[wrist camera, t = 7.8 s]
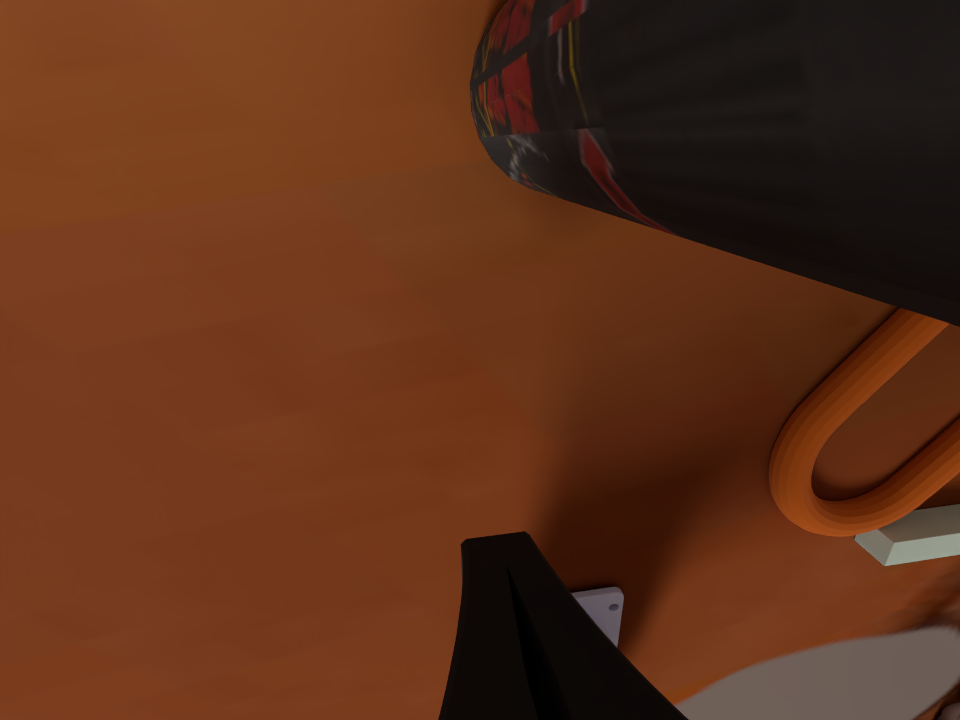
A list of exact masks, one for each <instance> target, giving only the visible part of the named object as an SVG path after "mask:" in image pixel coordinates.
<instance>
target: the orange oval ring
mask: <svg viewBox="0 0 960 720" xmlns="http://www.w3.org/2000/svg"><path fill="white" fill-rule="evenodd" d="M949 324H950V323H947V322H944V321H940V320H937V319H934V318H931V317H928V316H925V315H922V314H919V313H916V312H912V311H909V310H906V309H903V308H899V309H898V310H897V311H896V312H895V313H894V314H893V315H892V316H891V317H890V318H889V319H888V320H887V321H885V322H884V323H883V324H882V325H881V326H880V327H879V328H878V329H877V330H876V331H875V332H874V333H873V334H872V335H871V336H870V337H869V338H868V339H867V340H865V341H864V342H863V343H862V344H861V345H860V346H859V347H858V348H857V349H856V350H855V351H854V352H853V353H852V354H851V355H850V356H849V357H848V358H847V359H846V360H845V361H844V362H843V363H842V364H841V365H839V366H838V367H837V368H836V369H835V370H834V371H833V372H832V373H831V374H830V375H829V376H828V377H827V378H826V379H825V380H824V381H823V382H822V383H821V384H820V385H819V386H818V387H817V388H816V389H815V390H814V391H813V392H812V393H811V394H810V395H809V396H808V397H807V398H806V399H805V400H804V401H803V402H802V403H801V404H800V405H799V406H798V407H797V408H796V410H795V411H794V412H793V413H792V415H791V416H790V417H789V419H788V420H787V422H786V423H785V425H784V426H783V428H782V430H781V432H780V433H779V435H778V437H777V440H776V442H775V444H774V447H773V450H772V453H771V457H770V462H769V486H770V491H771V494H772V497H773V499H774V501H775V503H776V505H777V506H778V508H779V509H780V510H781V512H782V513H783V514H784V516H786V517H787V518H788V519H789V520H790V521H791V522H793V523H794V524H796V525H798V526H799V527H801V528H802V529H805V530H807V531H809V532H812V533H816V534H821V535H827V536H839V537H841V536H852V535H858V534H862V533H866V532H870V531H873V530H876V529H878V528H881V527H883V526H886V525H888V524H890V523H892V522H894V521H896V520H898V519H900V518H902V517H903V516H905V515H907V514H908V513H910V512H911V511H913V510H914V509H916V508H917V507H918V506H919V505H921V504H922V503H923V502H924V501H926V500H927V499H928V498H929V497H931V496H932V495H933V494H934V493H936V492H937V491H938V490H939V489H940V488H941V487H943V486H944V485H945V484H946V483H947V482H949V481H950V480H951V479H952V478H953V477H955V476H956V475H957V474H958V473H959V472H960V418H958V419H957V420H956V421H955V422H954V423H953V424H952V425H950V426H949V427H948V428H947V429H946V430H945V431H944V432H943V433H941V434H940V435H939V436H938V437H937V438H936V439H934V440H933V441H932V442H931V443H930V444H929V445H928V446H926V447H925V448H924V449H923V450H922V451H921V452H919V453H918V454H917V455H916V456H915V457H914V458H913V459H911V460H910V461H909V462H908V463H907V464H906V465H904V466H903V467H902V468H901V469H900V470H899V471H897V472H896V473H895V474H894V475H893V476H891V477H890V478H889V479H888V480H887V481H885V482H884V483H883V484H881V485H880V486H878V487H877V488H875V489H873V490H871V491H869V492H867V493H865V494H863V495H861V496H858V497H855V498H852V499H847V500H841V501H827V500H823V499H820V498H818V497H817V496H816V495H815V494H814V492H813V490H812V486H811V476H812V470H813V466H814V463H815V461H816V458H817V456H818V454H819V452H820V450H821V448H822V447H823V445H824V443H825V442H826V441H827V439H828V438H829V436H830V435H831V434H832V433H833V432H834V431H835V430H836V429H837V428H838V427H839V426H840V425H841V424H842V423H843V422H844V421H845V420H846V419H847V418H848V417H849V416H850V415H851V414H852V413H853V412H854V411H855V410H856V409H857V408H858V407H860V406H861V405H862V404H863V403H864V402H865V401H866V400H867V399H868V398H869V397H870V396H871V395H872V394H873V393H875V392H876V391H877V390H878V389H879V388H880V387H881V386H882V385H883V384H884V383H885V382H886V381H887V380H889V379H890V378H891V377H892V376H893V375H894V374H895V373H896V372H897V371H898V370H899V369H900V368H902V367H903V366H904V365H905V364H906V363H907V362H908V361H909V360H910V359H911V358H912V357H913V356H915V355H916V354H917V353H918V352H919V351H920V350H921V349H922V348H923V347H924V346H925V345H927V344H928V343H929V342H930V341H931V340H932V339H933V338H934V337H935V336H936V335H938V334H939V333H940V332H941V331H942V330H943V329H944V328H945V327H947V326H948V325H949Z"/></svg>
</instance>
